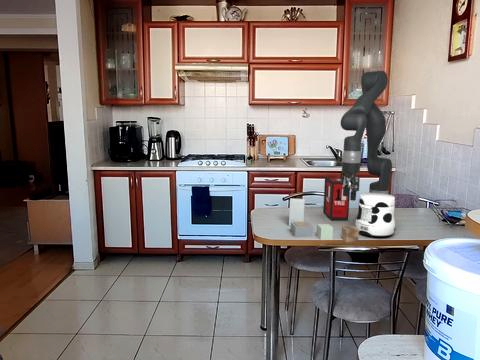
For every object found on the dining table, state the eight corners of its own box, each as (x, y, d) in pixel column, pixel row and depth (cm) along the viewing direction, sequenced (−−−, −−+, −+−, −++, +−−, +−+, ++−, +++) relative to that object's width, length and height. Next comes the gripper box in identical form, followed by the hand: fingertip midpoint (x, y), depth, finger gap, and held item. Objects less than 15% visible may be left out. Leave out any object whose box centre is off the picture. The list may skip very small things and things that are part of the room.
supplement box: (303, 227, 192) (304, 202, 190) (288, 226, 193) (289, 201, 191) (304, 223, 199) (305, 198, 197) (289, 222, 200) (290, 198, 198)
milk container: (391, 230, 189) (394, 193, 186) (397, 241, 172) (400, 201, 169) (354, 227, 193) (356, 191, 190) (355, 238, 176) (358, 198, 173)
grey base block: (307, 231, 186) (307, 220, 185) (312, 237, 178) (312, 225, 177) (290, 232, 184) (290, 221, 184) (295, 237, 177) (295, 226, 176)
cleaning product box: (348, 220, 204) (350, 182, 201) (331, 220, 204) (333, 182, 200) (338, 212, 220) (340, 177, 217) (323, 212, 220) (324, 177, 217)
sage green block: (328, 235, 180) (328, 224, 179) (332, 239, 174) (333, 227, 173) (316, 236, 179) (317, 224, 178) (320, 240, 173) (321, 228, 172)
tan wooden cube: (352, 237, 177) (353, 226, 176) (358, 241, 172) (358, 229, 171) (341, 238, 176) (341, 226, 175) (346, 242, 171) (346, 230, 170)
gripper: (366, 163, 162) (364, 201, 165) (353, 159, 176) (351, 194, 179) (349, 163, 161) (346, 202, 164) (337, 159, 175) (335, 194, 178)
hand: (349, 198), depth 172 cm, fingers open, 8 cm apart
